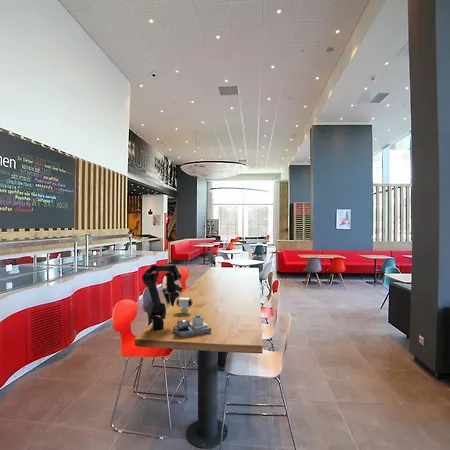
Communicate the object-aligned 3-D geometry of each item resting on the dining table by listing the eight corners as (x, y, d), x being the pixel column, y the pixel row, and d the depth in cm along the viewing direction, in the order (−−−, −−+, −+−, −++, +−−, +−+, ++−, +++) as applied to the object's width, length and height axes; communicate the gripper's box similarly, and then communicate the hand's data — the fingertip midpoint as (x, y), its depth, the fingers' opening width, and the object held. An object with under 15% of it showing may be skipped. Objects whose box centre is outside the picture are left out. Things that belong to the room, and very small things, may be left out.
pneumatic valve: (178, 311, 245) (178, 296, 245) (192, 312, 243) (192, 296, 243) (175, 313, 239) (176, 297, 239) (190, 314, 238) (190, 298, 238)
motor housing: (179, 338, 184) (179, 324, 184) (171, 331, 196) (171, 318, 196) (211, 332, 194) (211, 319, 195) (201, 326, 207) (201, 314, 207)
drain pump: (195, 327, 194) (196, 316, 194) (192, 325, 199) (192, 314, 199) (203, 326, 197) (203, 315, 197) (199, 324, 201) (199, 313, 201)
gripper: (186, 283, 213) (186, 306, 212) (176, 279, 229) (176, 300, 229) (170, 284, 207) (170, 308, 207) (162, 280, 224) (162, 302, 223)
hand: (170, 304), depth 217 cm, fingers open, 9 cm apart
